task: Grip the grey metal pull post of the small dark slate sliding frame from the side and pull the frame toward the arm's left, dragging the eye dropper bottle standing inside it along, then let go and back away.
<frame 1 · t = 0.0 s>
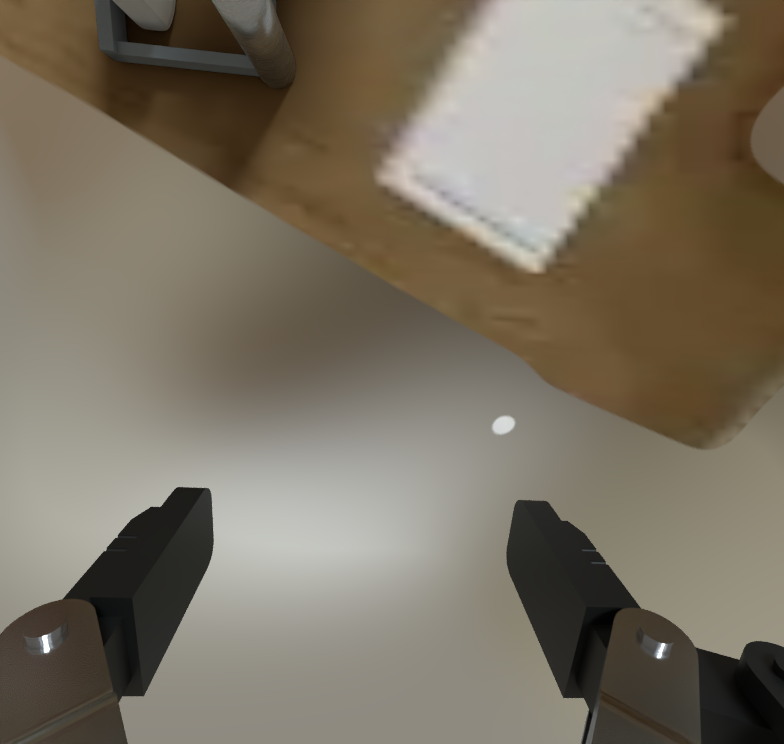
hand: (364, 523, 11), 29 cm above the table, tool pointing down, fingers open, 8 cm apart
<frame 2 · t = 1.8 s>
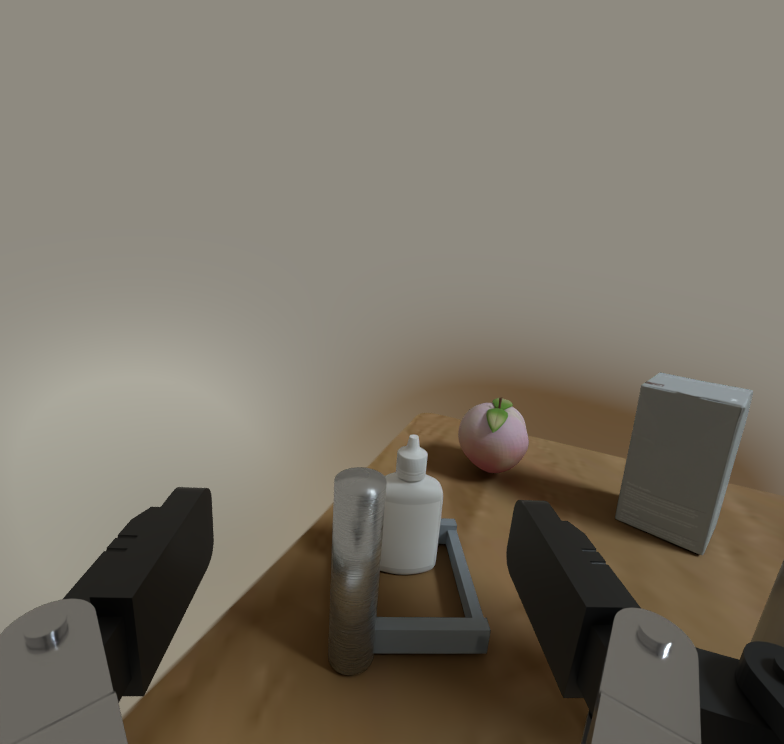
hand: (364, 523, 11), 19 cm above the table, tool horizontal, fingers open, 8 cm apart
decorative fruit: (486, 473, 53), on the table
skincare box: (659, 527, 45), on the table
pull frame: (408, 521, 32), point 7 cm above the table, slide at 0.0 cm
eye dropper bottle: (402, 563, 37), resting in pull frame
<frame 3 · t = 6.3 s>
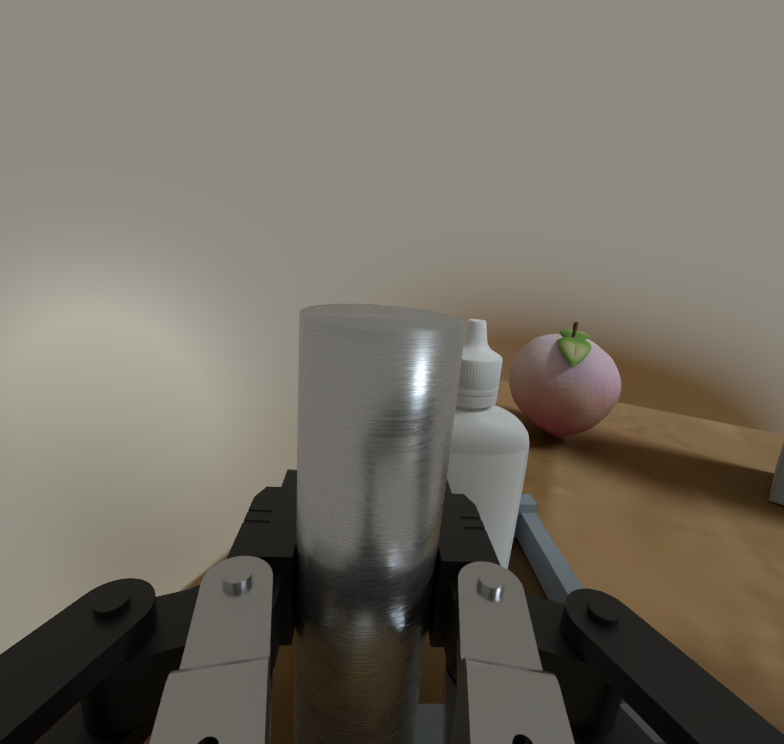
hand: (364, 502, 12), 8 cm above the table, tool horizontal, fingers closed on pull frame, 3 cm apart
decorative fruit: (549, 438, 37), on the table
pull frame: (474, 483, 15), point 7 cm above the table, slide at 0.0 cm, touching gripper
eye dropper bottle: (443, 571, 20), resting in pull frame
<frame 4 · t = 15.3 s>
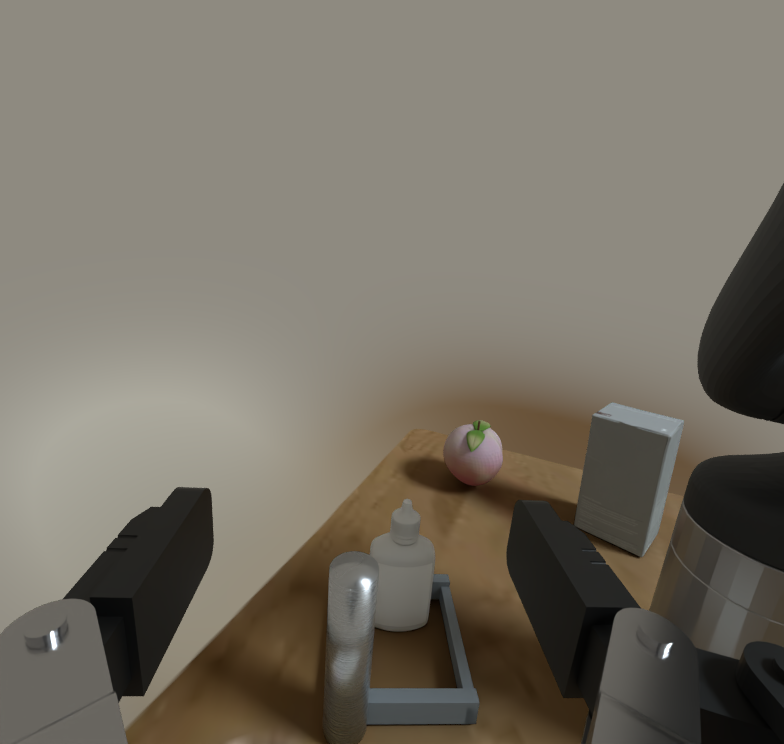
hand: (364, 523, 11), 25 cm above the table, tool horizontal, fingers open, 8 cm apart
decorative fruit: (467, 485, 62), on the table
skincare box: (611, 533, 53), on the table
pull frame: (402, 589, 33), point 7 cm above the table, slide at 7.4 cm
eye dropper bottle: (396, 618, 39), resting in pull frame
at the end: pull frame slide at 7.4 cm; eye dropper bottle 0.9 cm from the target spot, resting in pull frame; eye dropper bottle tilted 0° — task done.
